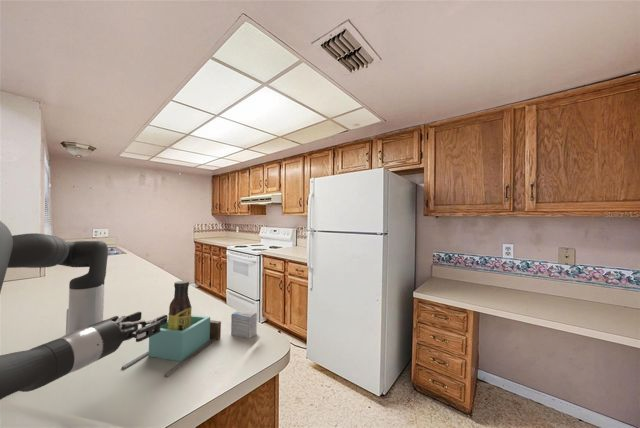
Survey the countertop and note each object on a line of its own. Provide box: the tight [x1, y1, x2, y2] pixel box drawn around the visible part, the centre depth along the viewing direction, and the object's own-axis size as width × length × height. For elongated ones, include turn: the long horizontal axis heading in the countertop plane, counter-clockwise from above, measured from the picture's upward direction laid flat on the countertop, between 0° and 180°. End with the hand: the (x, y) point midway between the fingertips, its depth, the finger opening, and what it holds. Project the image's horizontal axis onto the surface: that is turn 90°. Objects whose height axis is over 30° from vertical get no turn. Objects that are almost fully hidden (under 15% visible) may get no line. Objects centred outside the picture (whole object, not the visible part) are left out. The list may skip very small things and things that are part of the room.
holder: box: [148, 314, 211, 362], centre depth 79 cm, size 11×12×8 cm
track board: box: [121, 319, 222, 378], centre depth 77 cm, size 16×22×7 cm
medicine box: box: [230, 309, 258, 339], centre depth 89 cm, size 8×4×9 cm, turn 71°
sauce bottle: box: [167, 280, 192, 331], centre depth 78 cm, size 7×6×20 cm
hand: (153, 316), depth 68 cm, fingers open, 8 cm apart
